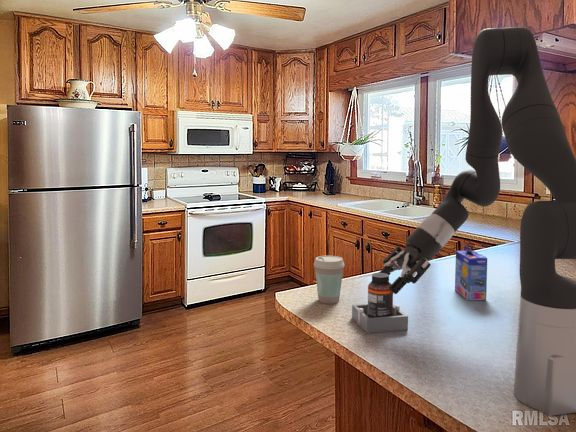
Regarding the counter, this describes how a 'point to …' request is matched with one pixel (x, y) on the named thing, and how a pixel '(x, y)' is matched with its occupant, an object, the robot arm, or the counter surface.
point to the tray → (379, 320)
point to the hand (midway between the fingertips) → (384, 286)
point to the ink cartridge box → (471, 275)
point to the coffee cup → (328, 278)
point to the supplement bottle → (380, 296)
